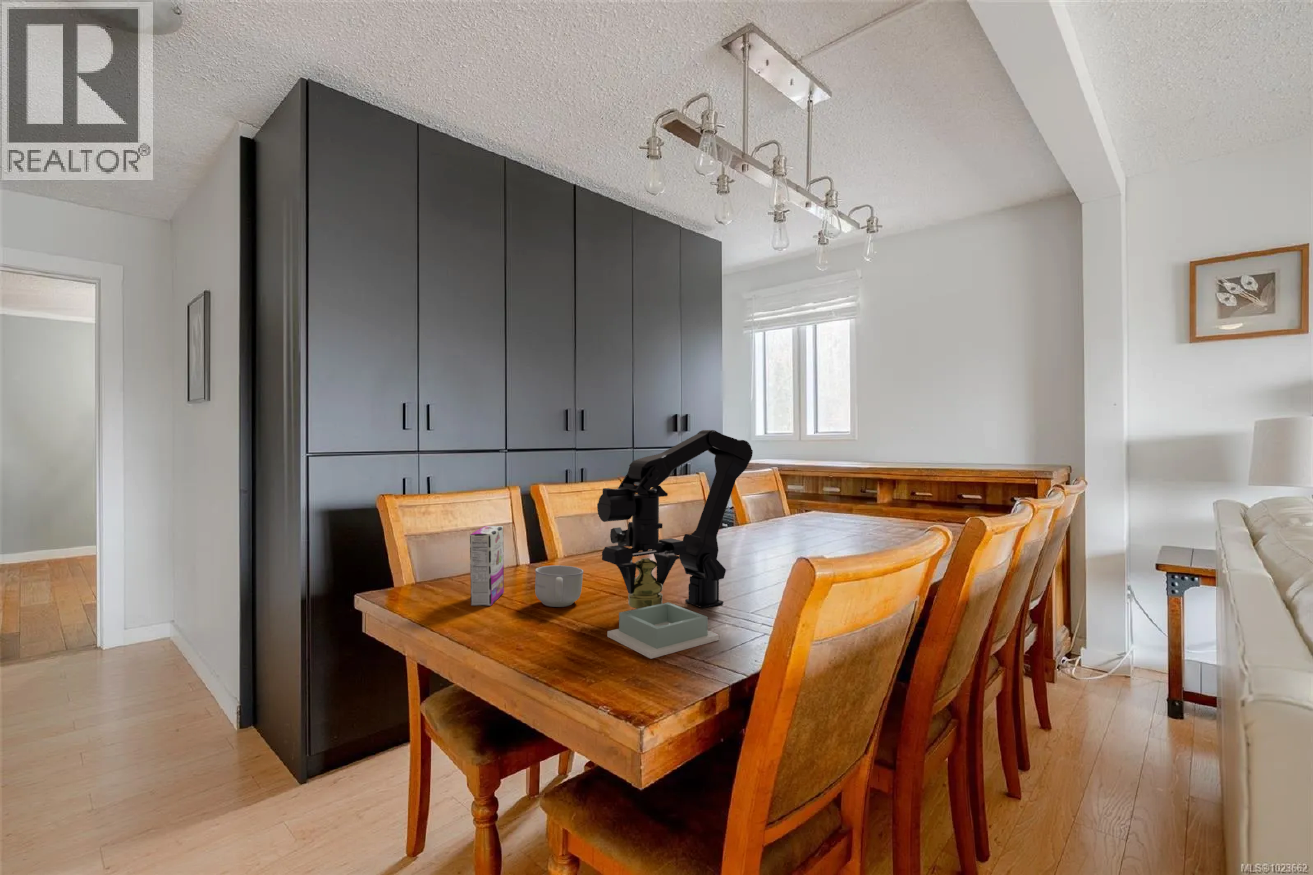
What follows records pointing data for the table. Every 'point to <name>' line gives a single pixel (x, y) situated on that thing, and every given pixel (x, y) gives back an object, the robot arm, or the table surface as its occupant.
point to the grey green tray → (662, 630)
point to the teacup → (558, 585)
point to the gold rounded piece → (645, 586)
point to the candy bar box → (486, 565)
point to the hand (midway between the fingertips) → (645, 590)
